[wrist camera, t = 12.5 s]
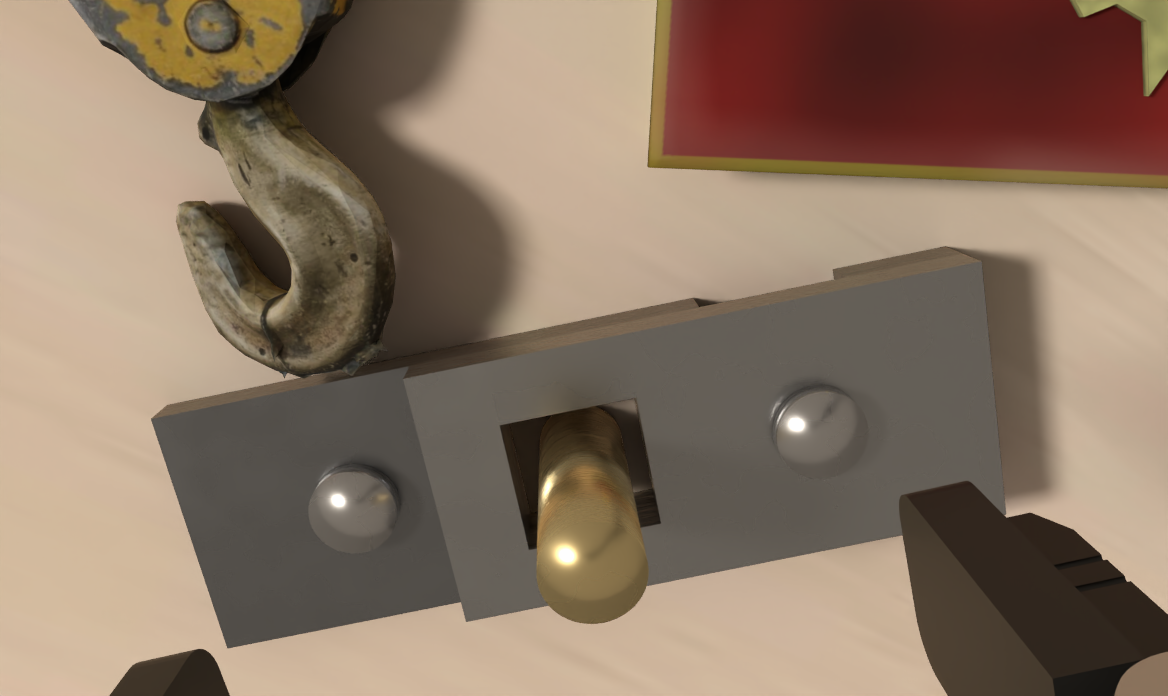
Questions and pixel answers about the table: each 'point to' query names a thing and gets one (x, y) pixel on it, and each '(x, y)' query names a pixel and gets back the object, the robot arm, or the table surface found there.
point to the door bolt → (575, 381)
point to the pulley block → (265, 177)
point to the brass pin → (587, 520)
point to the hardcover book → (915, 89)
